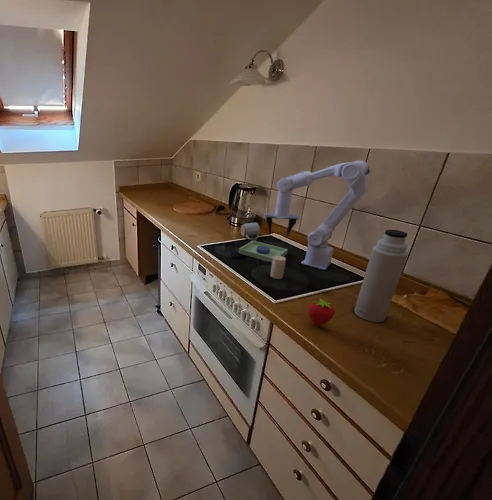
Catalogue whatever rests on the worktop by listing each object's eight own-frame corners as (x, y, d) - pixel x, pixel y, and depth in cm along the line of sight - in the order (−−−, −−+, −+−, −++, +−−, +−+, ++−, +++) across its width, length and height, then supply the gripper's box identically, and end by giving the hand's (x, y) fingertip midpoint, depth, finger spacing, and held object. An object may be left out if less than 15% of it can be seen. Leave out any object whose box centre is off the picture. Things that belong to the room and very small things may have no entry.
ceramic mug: (239, 234, 164) (240, 221, 161) (253, 233, 165) (255, 220, 162) (246, 241, 155) (248, 227, 152) (261, 241, 155) (263, 227, 152)
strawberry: (300, 320, 93) (305, 292, 89) (323, 319, 93) (330, 291, 89) (310, 332, 88) (317, 303, 84) (335, 331, 88) (343, 302, 84)
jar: (284, 275, 120) (287, 257, 117) (280, 280, 117) (284, 261, 113) (272, 272, 123) (275, 254, 120) (268, 276, 119) (271, 258, 116)
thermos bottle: (348, 307, 98) (371, 227, 87) (372, 306, 98) (398, 226, 87) (366, 322, 91) (393, 237, 80) (391, 321, 91) (422, 236, 80)
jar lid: (267, 249, 143) (267, 245, 142) (271, 254, 137) (271, 250, 137) (254, 249, 143) (255, 245, 142) (258, 254, 138) (258, 250, 137)
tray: (287, 253, 139) (288, 249, 138) (274, 263, 130) (275, 258, 129) (252, 244, 151) (252, 240, 150) (238, 253, 142) (238, 248, 141)
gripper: (265, 206, 131) (262, 235, 136) (302, 208, 126) (297, 238, 132) (265, 202, 137) (261, 230, 142) (300, 204, 132) (294, 232, 138)
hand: (278, 233), depth 137 cm, fingers open, 7 cm apart
